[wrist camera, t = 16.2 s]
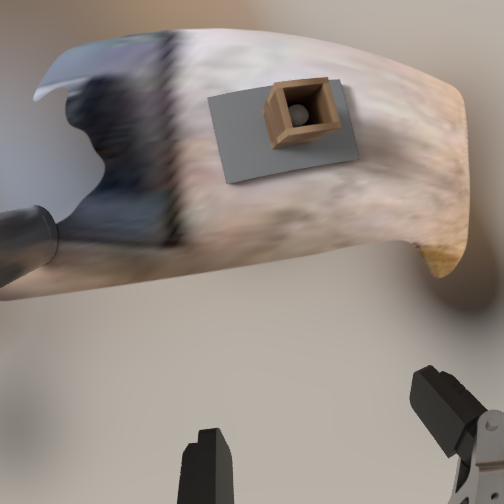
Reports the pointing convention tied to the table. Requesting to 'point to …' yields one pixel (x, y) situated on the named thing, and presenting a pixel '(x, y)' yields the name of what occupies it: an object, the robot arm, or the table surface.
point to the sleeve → (313, 99)
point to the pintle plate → (257, 140)
